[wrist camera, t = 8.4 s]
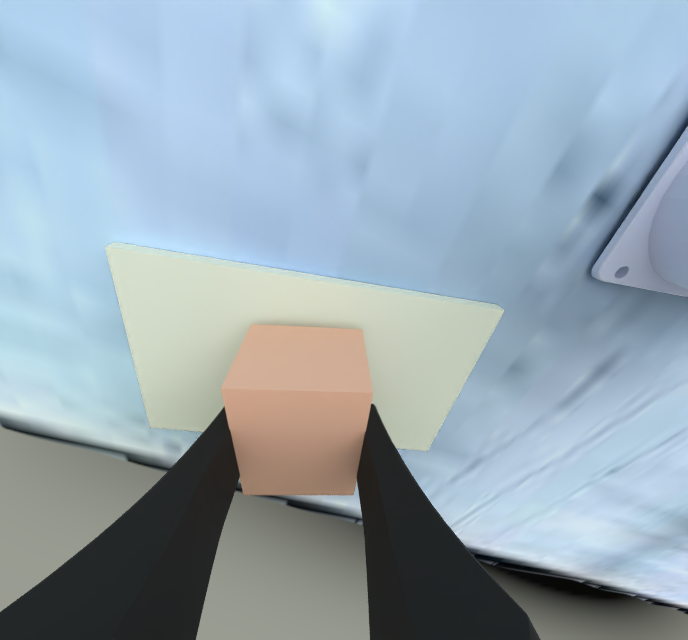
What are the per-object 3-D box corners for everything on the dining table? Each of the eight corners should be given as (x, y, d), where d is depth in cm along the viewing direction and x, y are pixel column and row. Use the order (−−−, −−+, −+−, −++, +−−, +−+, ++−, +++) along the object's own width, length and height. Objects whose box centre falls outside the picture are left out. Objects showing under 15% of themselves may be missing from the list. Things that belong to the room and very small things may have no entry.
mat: (497, 304, 12) (504, 311, 12) (424, 442, 17) (427, 451, 17) (116, 242, 10) (104, 246, 10) (155, 418, 15) (149, 427, 15)
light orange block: (349, 424, 14) (353, 495, 11) (262, 422, 14) (243, 495, 11) (362, 329, 11) (373, 393, 8) (250, 324, 11) (220, 388, 8)
